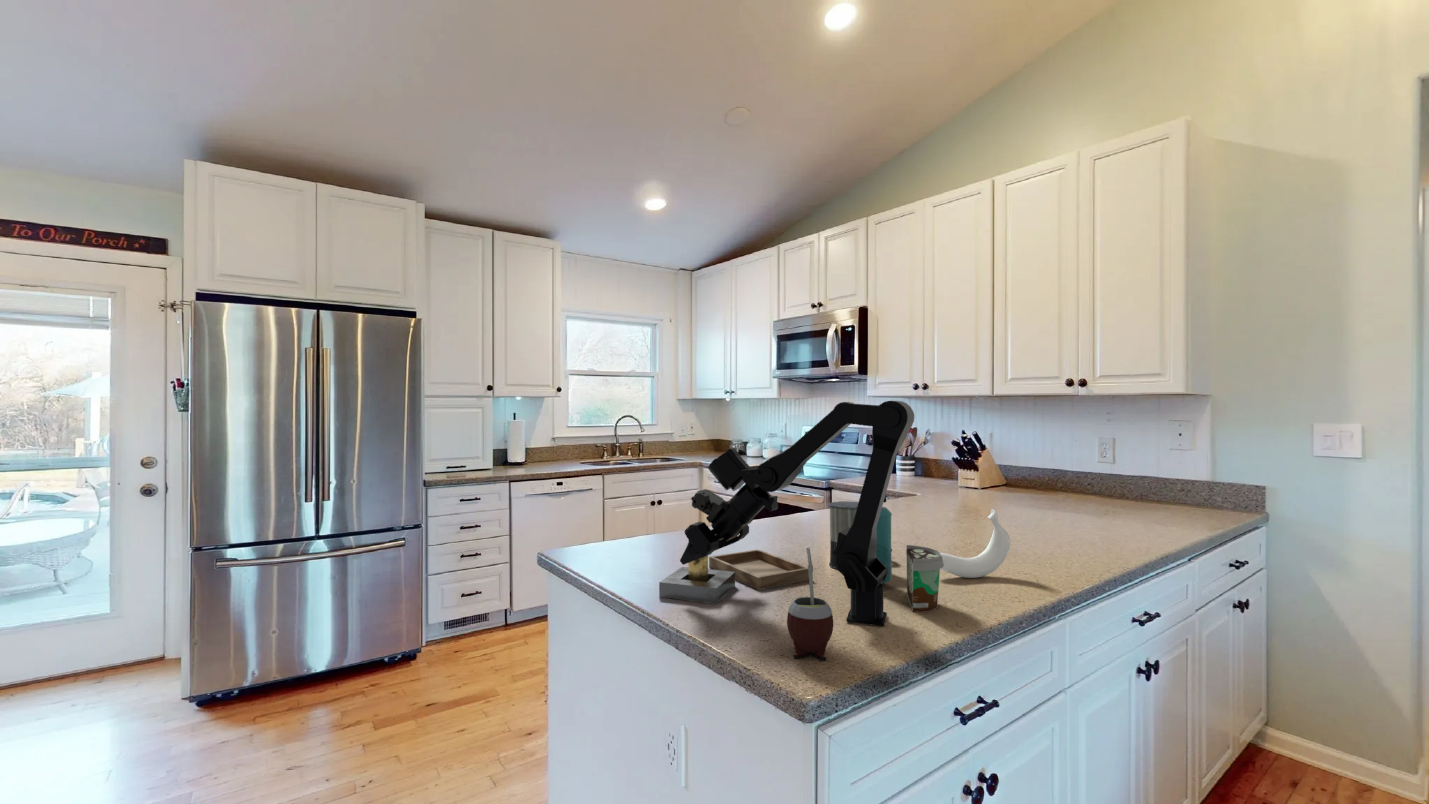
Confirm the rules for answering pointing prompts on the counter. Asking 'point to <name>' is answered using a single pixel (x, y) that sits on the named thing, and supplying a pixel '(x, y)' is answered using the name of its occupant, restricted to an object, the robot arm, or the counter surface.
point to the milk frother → (840, 523)
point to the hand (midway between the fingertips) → (692, 557)
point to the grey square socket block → (697, 586)
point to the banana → (981, 555)
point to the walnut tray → (760, 568)
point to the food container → (923, 577)
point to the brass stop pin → (698, 569)
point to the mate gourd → (810, 623)
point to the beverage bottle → (884, 540)
